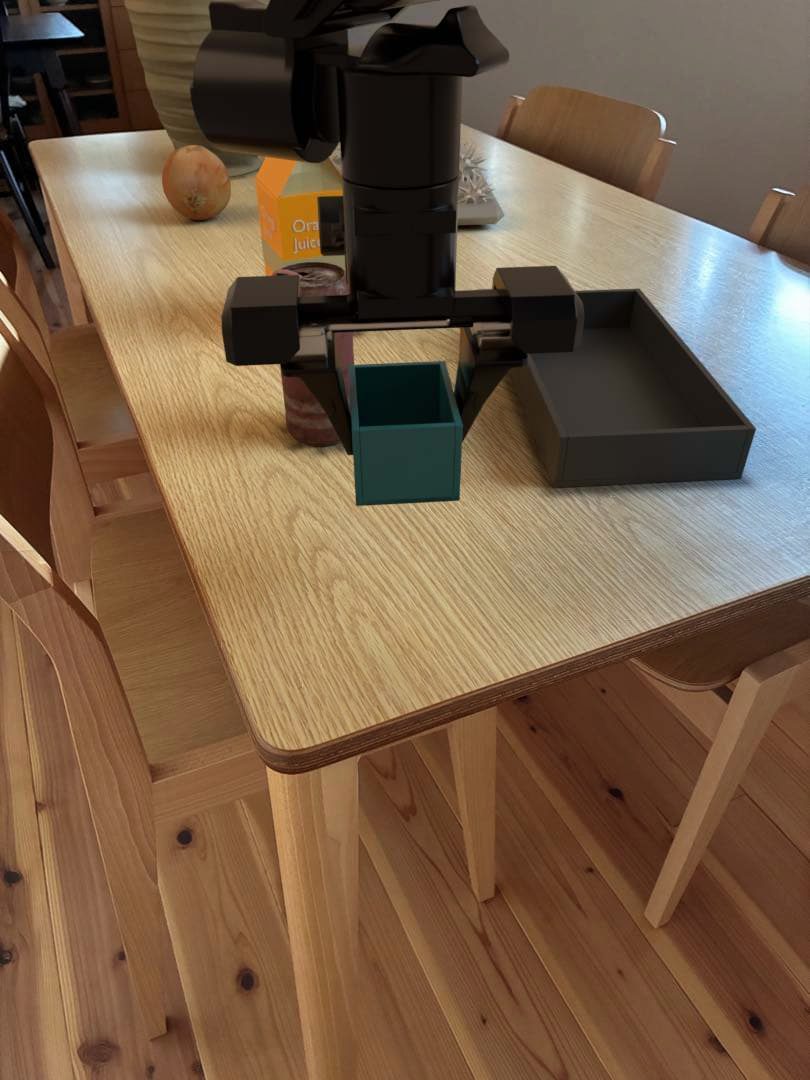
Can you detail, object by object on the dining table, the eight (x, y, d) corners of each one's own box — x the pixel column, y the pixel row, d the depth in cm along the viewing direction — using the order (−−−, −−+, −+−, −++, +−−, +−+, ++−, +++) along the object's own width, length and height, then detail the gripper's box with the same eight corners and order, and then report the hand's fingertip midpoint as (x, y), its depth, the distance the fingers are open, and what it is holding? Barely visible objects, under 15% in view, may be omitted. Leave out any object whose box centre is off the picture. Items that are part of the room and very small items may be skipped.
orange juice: (290, 342, 85) (269, 135, 73) (268, 312, 92) (246, 117, 79) (359, 330, 88) (351, 128, 75) (333, 302, 94) (322, 111, 82)
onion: (231, 206, 125) (222, 135, 119) (238, 225, 117) (228, 151, 111) (167, 211, 123) (154, 140, 117) (170, 231, 115) (156, 155, 109)
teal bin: (443, 431, 53) (445, 360, 50) (459, 501, 47) (462, 425, 43) (352, 435, 52) (348, 364, 49) (356, 506, 46) (351, 430, 43)
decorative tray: (504, 231, 114) (509, 155, 108) (322, 236, 113) (317, 160, 107) (472, 169, 142) (474, 106, 136) (325, 173, 140) (320, 109, 134)
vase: (153, 159, 152) (143, -34, 137) (280, 173, 153) (284, -17, 138) (113, 175, 131) (96, -51, 116) (261, 191, 132) (263, -31, 117)
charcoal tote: (632, 329, 87) (639, 288, 84) (741, 478, 64) (756, 428, 62) (493, 335, 86) (496, 293, 84) (554, 487, 64) (560, 437, 61)
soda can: (289, 413, 73) (272, 258, 65) (358, 413, 73) (351, 258, 64) (280, 448, 68) (261, 286, 60) (355, 448, 68) (346, 286, 60)
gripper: (552, 133, 46) (528, 381, 56) (222, 141, 45) (256, 393, 55) (606, 185, 37) (566, 469, 47) (198, 197, 36) (244, 485, 46)
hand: (403, 449), depth 49 cm, fingers closed on teal bin, 6 cm apart
